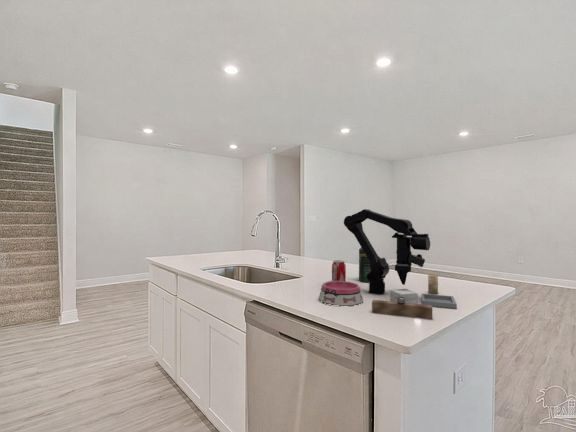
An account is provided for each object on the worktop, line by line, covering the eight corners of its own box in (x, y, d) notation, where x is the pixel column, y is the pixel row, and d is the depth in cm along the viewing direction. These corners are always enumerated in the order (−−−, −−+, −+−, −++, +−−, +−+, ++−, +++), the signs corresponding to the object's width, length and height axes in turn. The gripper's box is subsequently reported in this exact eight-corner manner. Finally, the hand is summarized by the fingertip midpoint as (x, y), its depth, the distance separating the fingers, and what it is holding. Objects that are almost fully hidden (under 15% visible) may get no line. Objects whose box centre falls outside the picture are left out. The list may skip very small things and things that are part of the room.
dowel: (428, 293, 138) (428, 276, 138) (428, 291, 142) (427, 274, 142) (438, 294, 137) (438, 276, 137) (437, 292, 141) (437, 275, 141)
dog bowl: (371, 300, 130) (371, 283, 130) (348, 310, 116) (348, 292, 116) (334, 292, 142) (334, 278, 142) (309, 301, 128) (309, 284, 128)
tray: (421, 305, 120) (421, 300, 120) (421, 298, 131) (421, 293, 131) (456, 309, 116) (456, 303, 116) (453, 301, 127) (453, 296, 127)
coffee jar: (375, 283, 161) (375, 247, 161) (360, 282, 162) (360, 247, 162) (372, 279, 171) (372, 245, 171) (358, 278, 172) (357, 245, 172)
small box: (406, 300, 128) (406, 288, 128) (417, 305, 121) (417, 292, 121) (389, 301, 127) (389, 289, 127) (399, 307, 119) (399, 293, 119)
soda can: (345, 286, 154) (345, 262, 154) (331, 285, 156) (331, 262, 156) (345, 283, 161) (345, 260, 161) (332, 282, 162) (332, 260, 162)
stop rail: (372, 312, 112) (371, 296, 112) (373, 310, 115) (373, 294, 115) (432, 319, 104) (432, 301, 104) (432, 316, 107) (431, 299, 107)
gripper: (424, 251, 121) (424, 291, 121) (423, 247, 139) (423, 281, 139) (394, 250, 126) (394, 288, 126) (397, 246, 143) (397, 279, 143)
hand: (403, 284), depth 133 cm, fingers closed
